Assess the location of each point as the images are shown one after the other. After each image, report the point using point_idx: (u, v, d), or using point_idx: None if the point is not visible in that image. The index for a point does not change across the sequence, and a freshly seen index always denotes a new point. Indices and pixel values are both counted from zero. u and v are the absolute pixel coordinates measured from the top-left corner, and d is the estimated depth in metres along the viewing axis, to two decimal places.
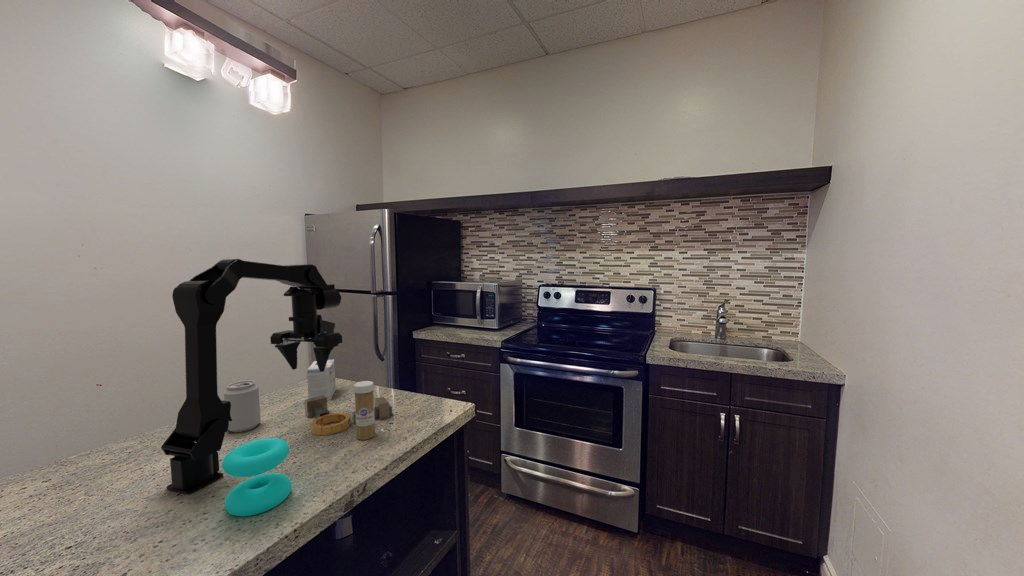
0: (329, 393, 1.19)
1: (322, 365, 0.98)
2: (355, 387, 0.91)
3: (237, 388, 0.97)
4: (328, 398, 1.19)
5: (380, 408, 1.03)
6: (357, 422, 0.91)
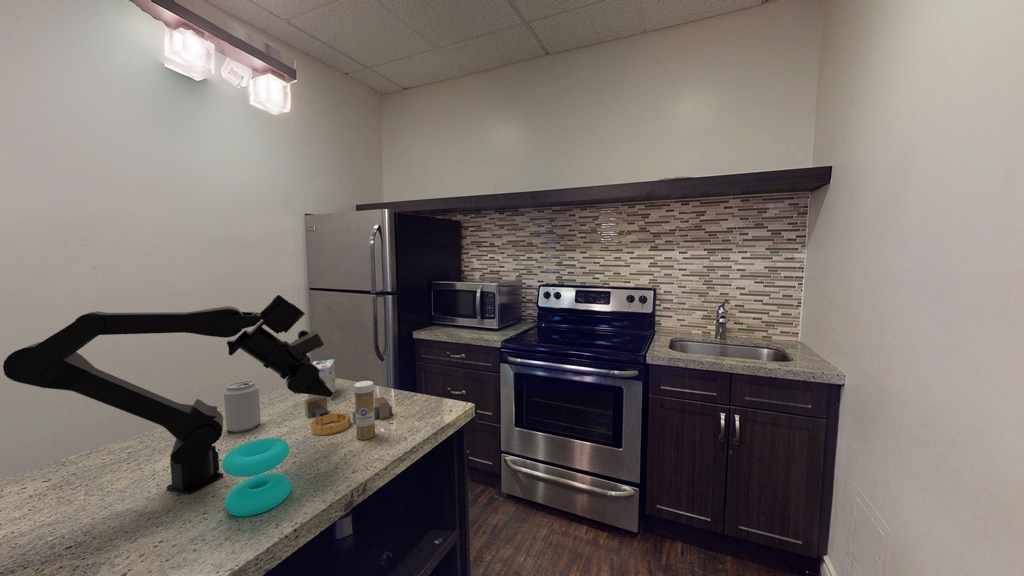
0: None
1: (324, 393, 0.83)
2: (355, 387, 0.91)
3: (237, 388, 0.97)
4: (328, 398, 1.19)
5: (380, 408, 1.03)
6: (357, 422, 0.91)
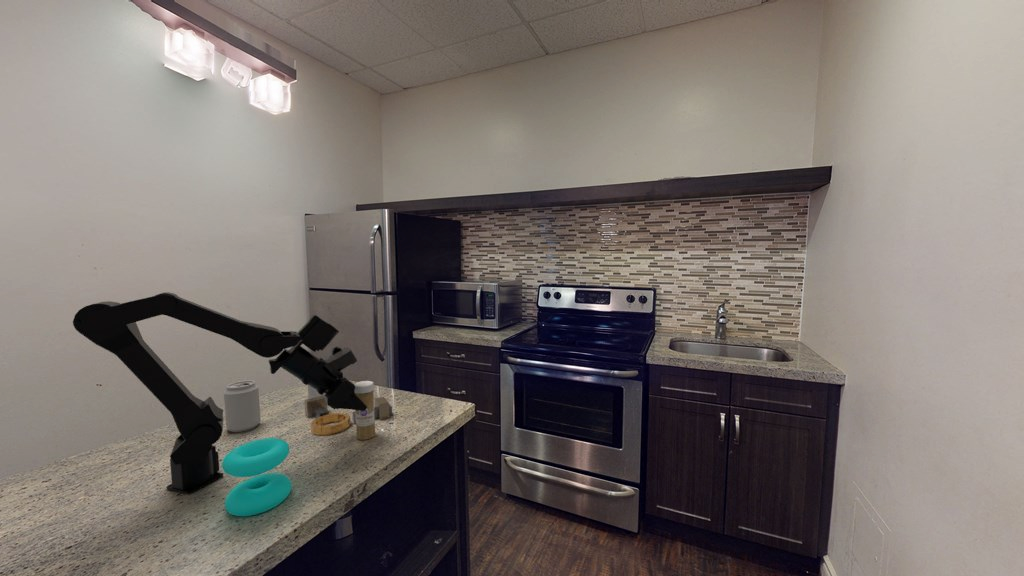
0: None
1: (359, 407, 0.87)
2: (355, 387, 0.91)
3: (237, 388, 0.97)
4: None
5: (380, 408, 1.03)
6: (357, 422, 0.91)
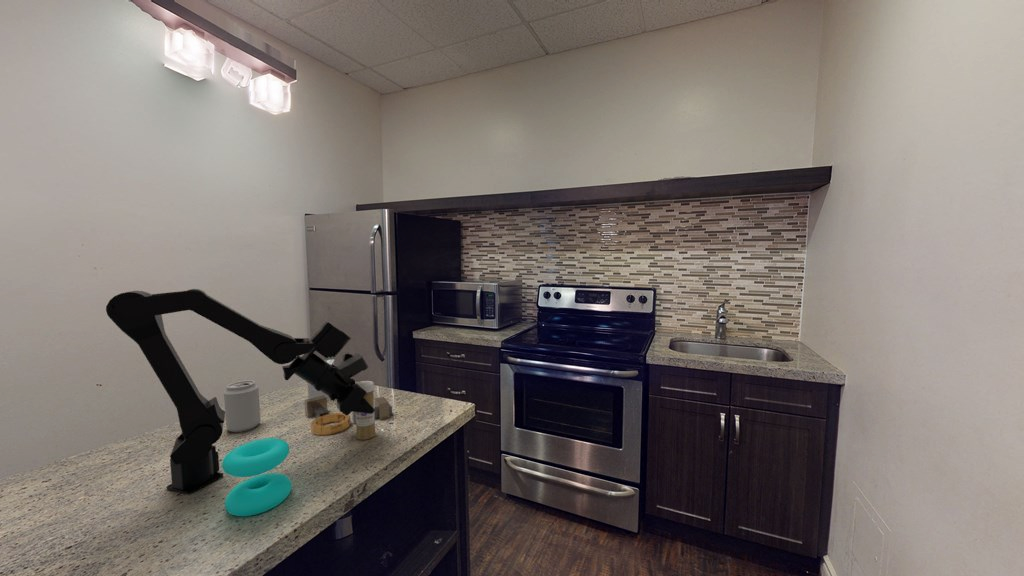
0: None
1: (367, 410, 0.91)
2: None
3: (237, 388, 0.97)
4: (328, 398, 1.19)
5: (380, 408, 1.03)
6: (357, 422, 0.91)
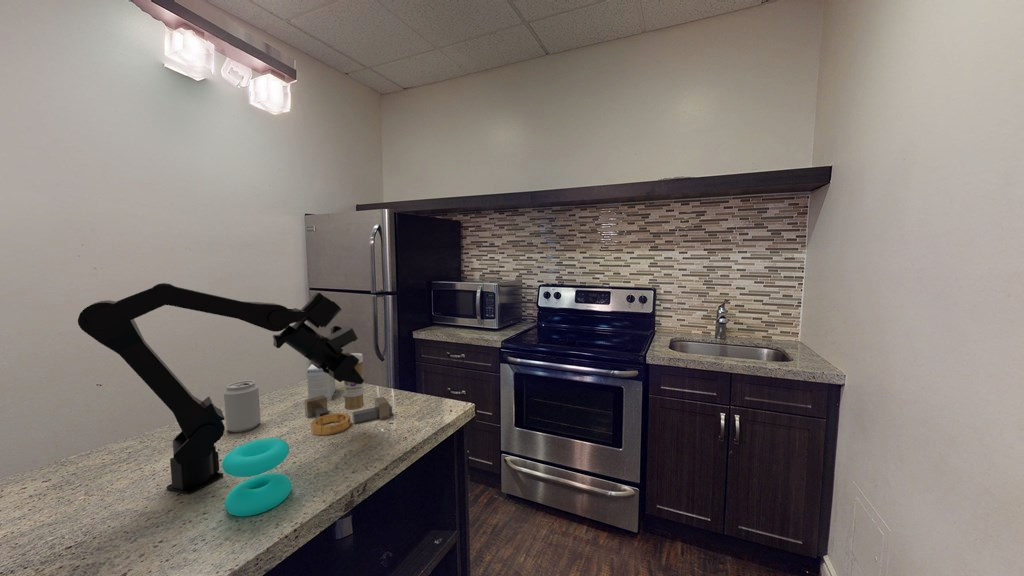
0: (329, 393, 1.19)
1: (357, 380, 0.92)
2: None
3: (237, 388, 0.97)
4: (328, 398, 1.19)
5: (380, 408, 1.03)
6: (346, 393, 0.93)
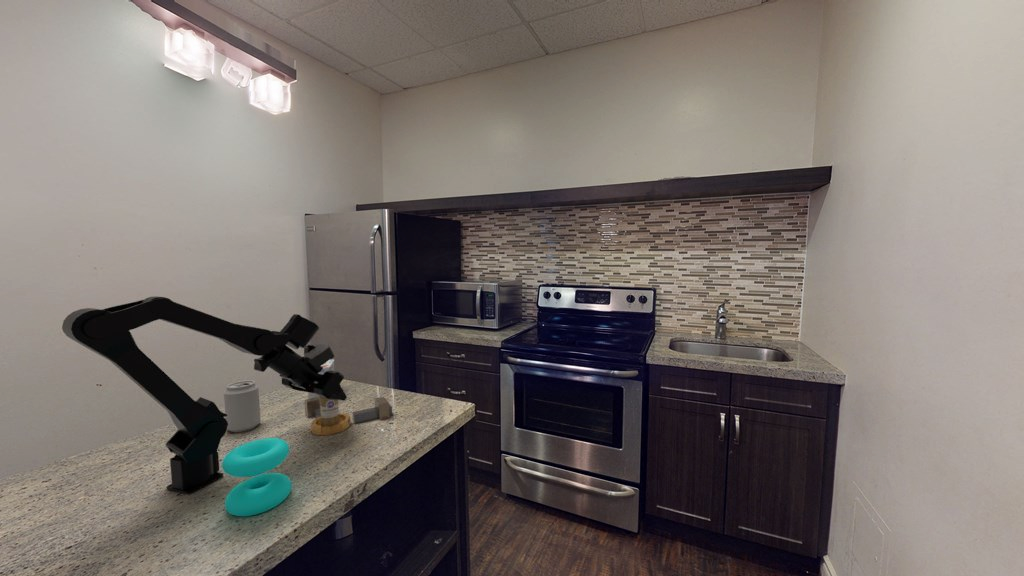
0: None
1: (341, 397, 0.96)
2: None
3: (237, 388, 0.97)
4: None
5: (380, 408, 1.03)
6: (324, 414, 0.97)
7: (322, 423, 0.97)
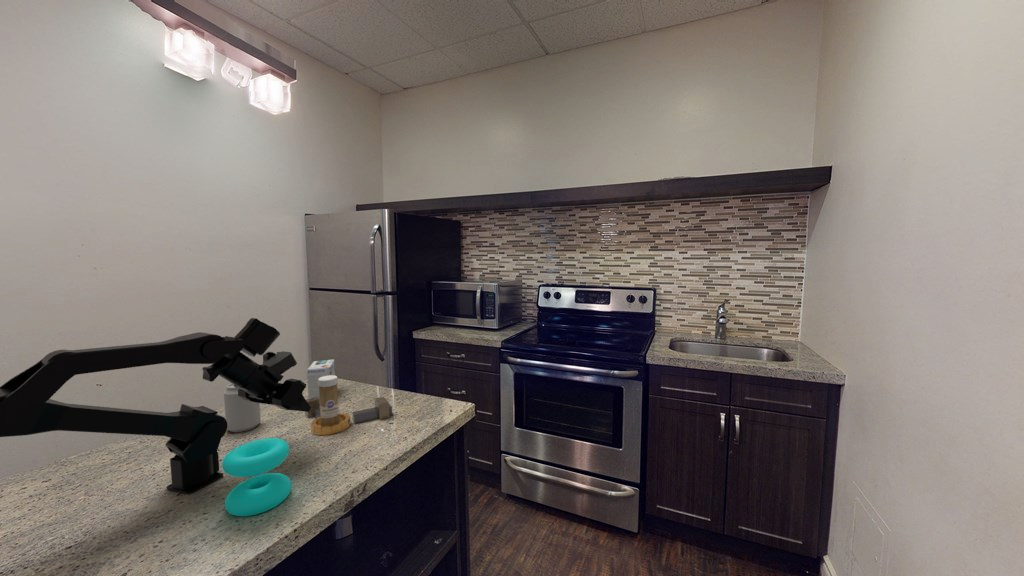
0: None
1: (304, 408, 0.88)
2: (321, 381, 0.96)
3: None
4: None
5: (380, 408, 1.03)
6: (324, 415, 0.97)
7: (322, 423, 0.97)
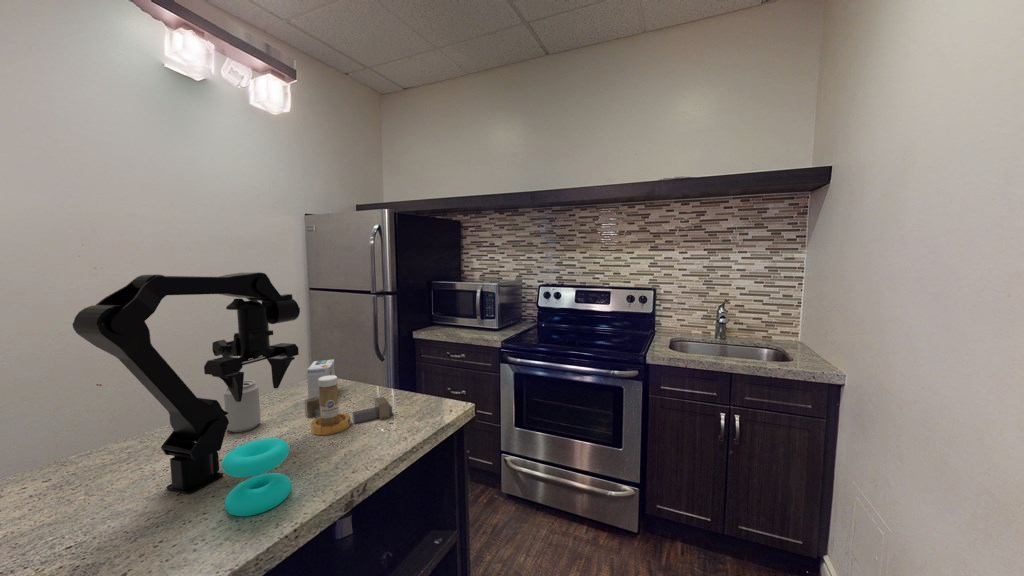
0: None
1: None
2: (321, 381, 0.96)
3: None
4: None
5: (380, 408, 1.03)
6: (324, 415, 0.97)
7: (322, 423, 0.97)
